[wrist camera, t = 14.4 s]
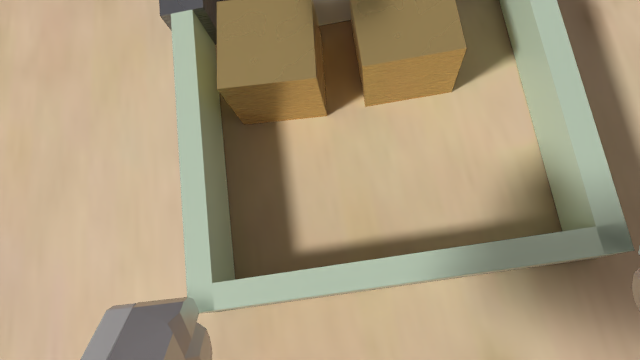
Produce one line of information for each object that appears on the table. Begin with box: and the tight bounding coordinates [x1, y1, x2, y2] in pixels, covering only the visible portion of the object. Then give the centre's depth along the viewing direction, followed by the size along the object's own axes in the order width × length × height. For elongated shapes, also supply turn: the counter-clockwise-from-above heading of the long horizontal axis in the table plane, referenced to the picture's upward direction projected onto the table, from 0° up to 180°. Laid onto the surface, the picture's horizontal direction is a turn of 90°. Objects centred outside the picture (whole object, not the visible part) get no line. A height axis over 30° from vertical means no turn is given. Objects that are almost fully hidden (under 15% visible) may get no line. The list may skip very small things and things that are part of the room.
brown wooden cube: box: [217, 0, 327, 125], centre depth 21 cm, size 4×4×4 cm
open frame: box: [171, 0, 635, 313], centre depth 20 cm, size 13×16×3 cm
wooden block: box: [350, 0, 467, 107], centre depth 20 cm, size 4×4×4 cm
